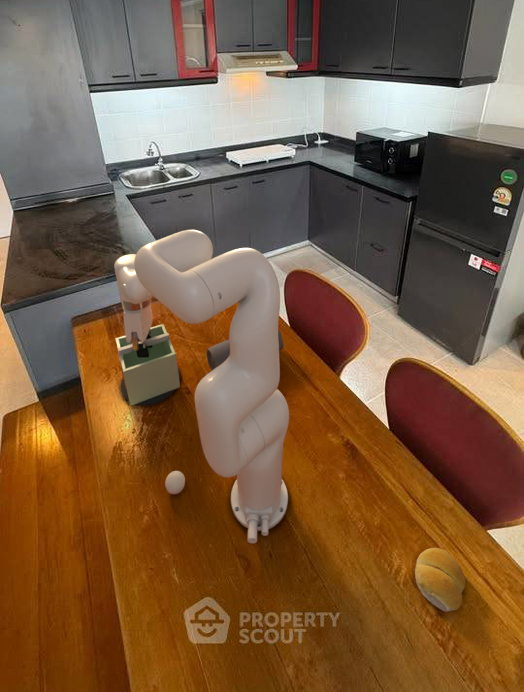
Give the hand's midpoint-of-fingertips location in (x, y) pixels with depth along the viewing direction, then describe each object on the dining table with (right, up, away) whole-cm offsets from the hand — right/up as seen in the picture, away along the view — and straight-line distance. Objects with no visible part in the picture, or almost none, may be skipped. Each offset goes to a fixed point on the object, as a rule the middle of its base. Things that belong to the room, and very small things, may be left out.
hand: (145, 351), depth 108 cm
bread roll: (+67, -31, -37) cm, 82 cm away
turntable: (0, -11, +5) cm, 12 cm away
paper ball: (+14, -22, -23) cm, 34 cm away
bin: (0, -10, +5) cm, 11 cm away
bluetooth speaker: (+28, -8, +12) cm, 32 cm away
